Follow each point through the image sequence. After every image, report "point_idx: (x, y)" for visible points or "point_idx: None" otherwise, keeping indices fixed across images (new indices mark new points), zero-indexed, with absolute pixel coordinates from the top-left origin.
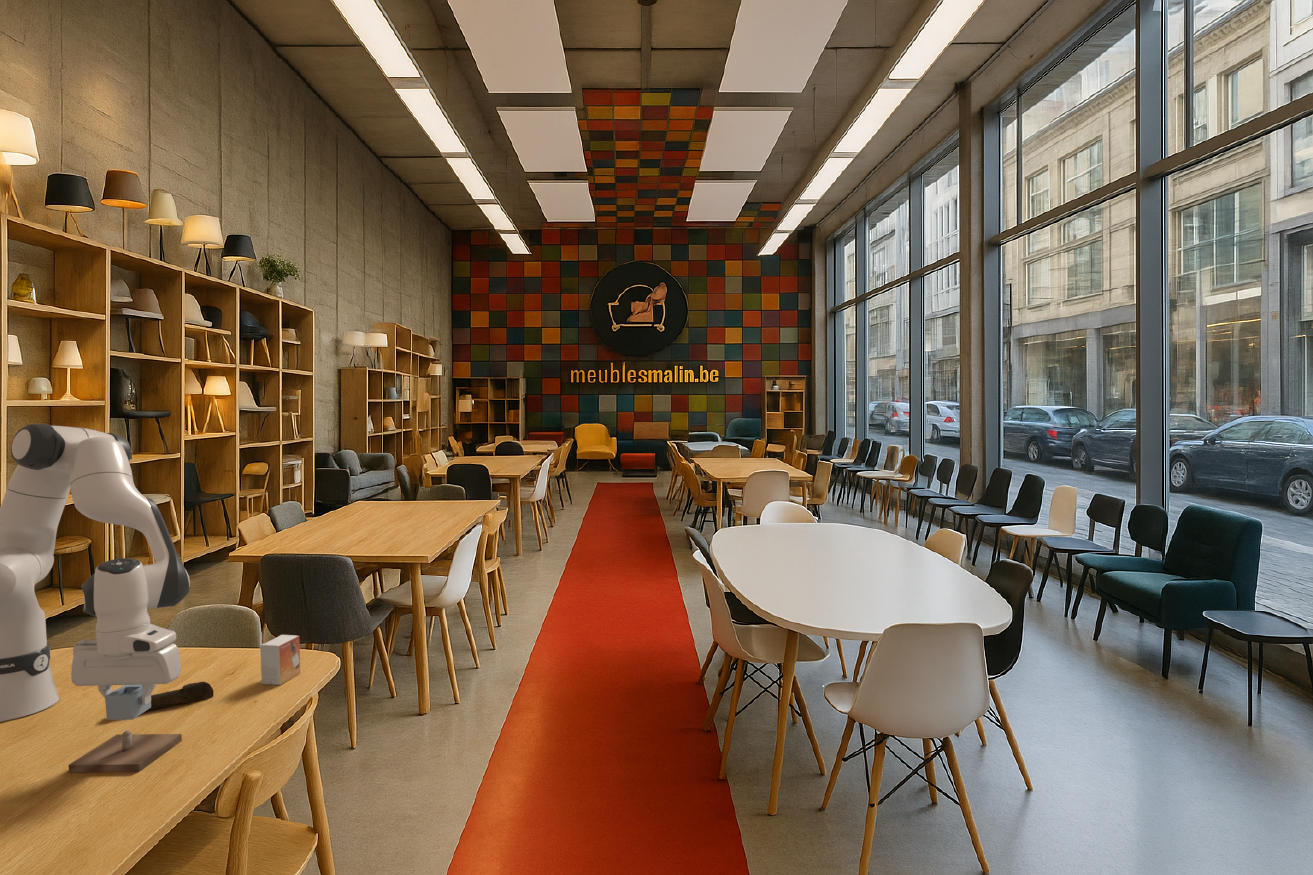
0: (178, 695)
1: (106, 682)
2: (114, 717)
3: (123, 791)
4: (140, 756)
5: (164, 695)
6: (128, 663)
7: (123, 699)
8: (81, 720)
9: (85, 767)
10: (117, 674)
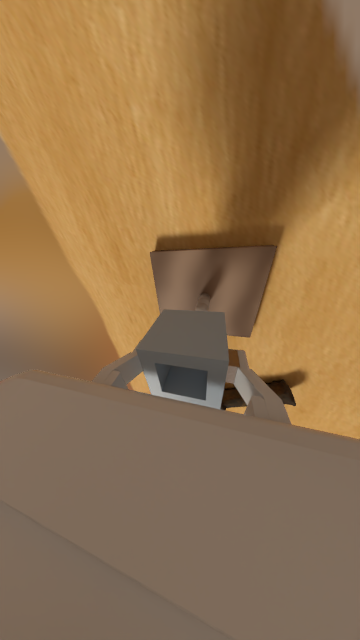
0: (224, 398)
1: (235, 429)
2: (204, 314)
3: (127, 183)
4: (167, 275)
5: (238, 401)
6: (38, 587)
7: (164, 342)
8: (336, 384)
9: (240, 247)
10: (162, 473)
